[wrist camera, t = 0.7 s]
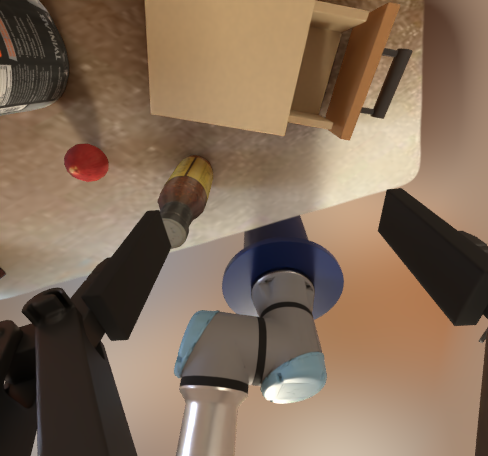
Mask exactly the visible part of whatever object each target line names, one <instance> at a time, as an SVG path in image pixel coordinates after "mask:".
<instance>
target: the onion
mask: <svg viewBox="0 0 488 456" xmlns="http://www.w3.org/2000/svg"><path fill="white" fill-rule="evenodd" d="M64 165H65V167H66V169H67V171H68V172H69V173H70V174H71V175H72V176H73V177H75V178H77V179H80V180H83V181H87V182H90V181H97V180H99V179H100V178H102V177H103V176H105V174H106V173H107V171H108V159H107V157H106V155H105V154H104V153H103V152H102V151H101V150H100V149H98V148H97V147H95V146H93V145H90V144H77V145H75V146H73V147H72V148H70V149H69V150H68V151H67V153H66V155H65V158H64Z"/></svg>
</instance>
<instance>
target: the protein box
mask: <svg viewBox="0 0 488 456" xmlns="http://www.w3.org/2000/svg"><path fill="white" fill-rule="evenodd" d="M5 275H6V274H5V272H3V271H2V270H1V269H0V279H1V278H2V277H3V276H5Z"/></svg>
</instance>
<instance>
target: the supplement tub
mask: <svg viewBox="0 0 488 456" xmlns="http://www.w3.org/2000/svg"><path fill="white" fill-rule="evenodd" d="M68 76H69V62H68V57H67V52H66V48H65V45H64V42H63V40H62V37H61V35H60V33H59V31H58V29H57V27H56V25H55V24H54V22H53V20H52V18H51V16H50V14H49V13H48V11H47V10H46V8H45V7H44V6H43V5H42V3H41V2H40V1H39V0H0V116H1V115H7V114H13V113H19V112H25V111H31V110H36V109H40V108H44V107H46V106H49V105H51V104H53V103H54V102H56V101H57V100H58V99H59V98H60V97H61V96H62V94H63V93H64V91H65V88H66V84H67V80H68Z"/></svg>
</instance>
